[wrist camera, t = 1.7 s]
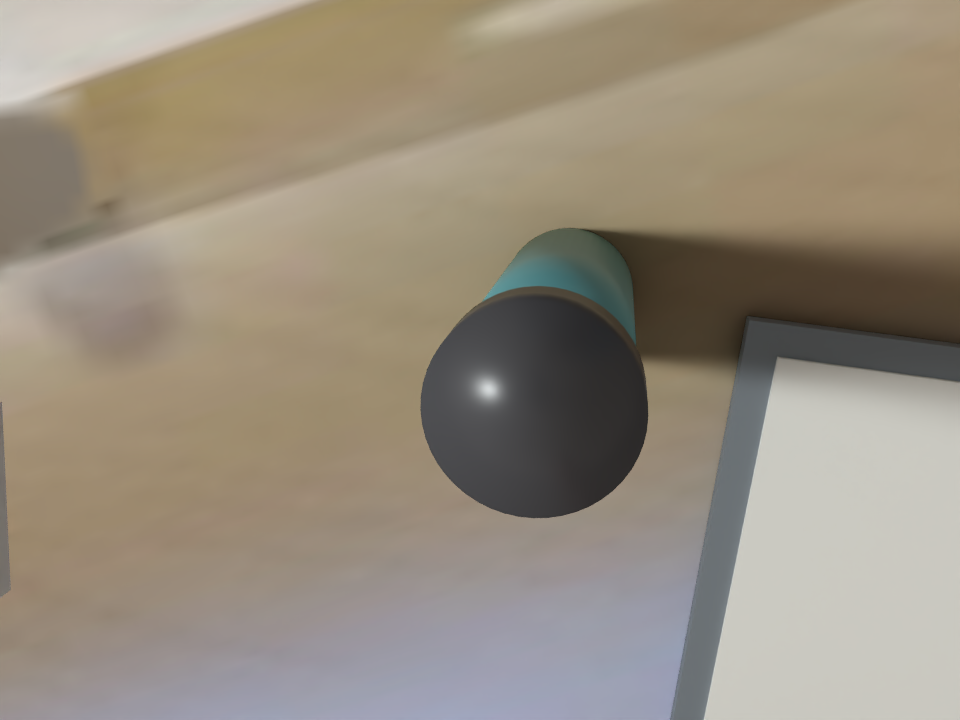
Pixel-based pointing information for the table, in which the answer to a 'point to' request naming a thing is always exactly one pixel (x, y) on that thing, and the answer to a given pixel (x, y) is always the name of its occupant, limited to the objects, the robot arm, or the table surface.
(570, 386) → the marker
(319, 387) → the table surface
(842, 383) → the clipboard
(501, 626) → the table surface
